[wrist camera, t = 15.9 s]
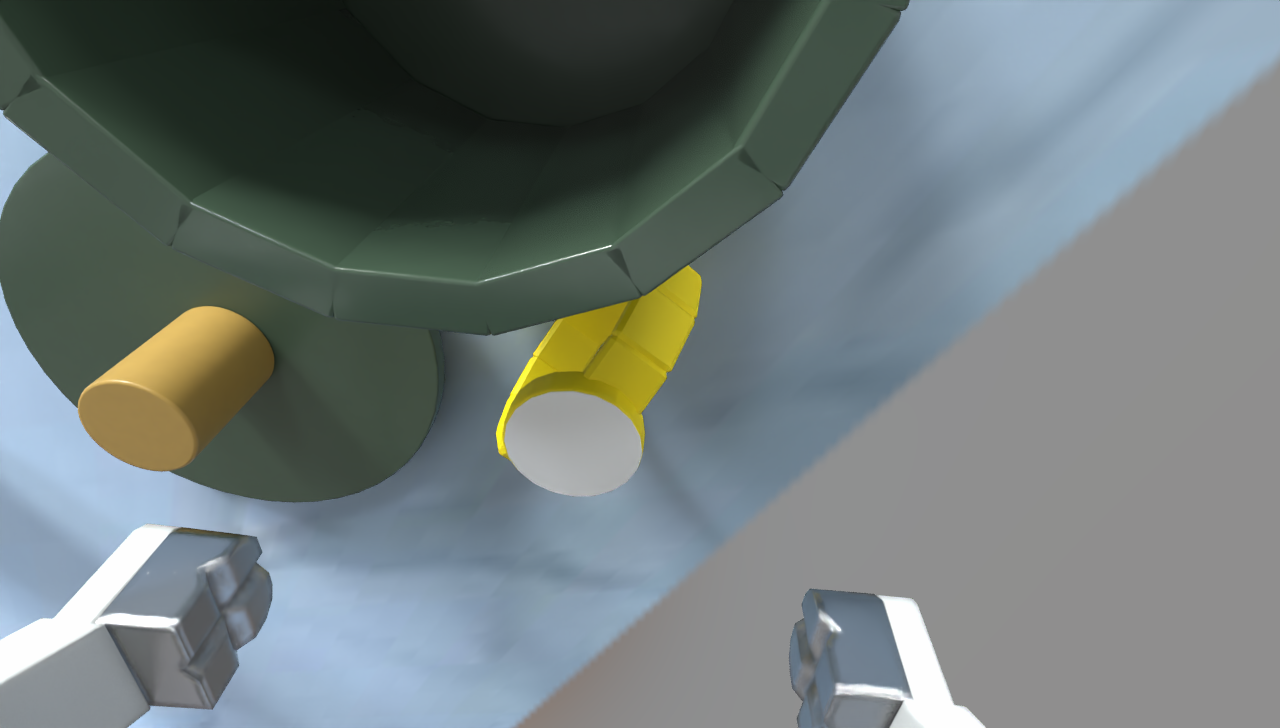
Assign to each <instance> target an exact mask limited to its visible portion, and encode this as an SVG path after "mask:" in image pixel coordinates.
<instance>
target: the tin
mask: <svg viewBox="0 0 1280 728" xmlns="http://www.w3.org/2000/svg"><path fill="white" fill-rule="evenodd" d="M909 1H910V0H0V110H4V111H3V115H4V116H5V118H7V119H8V120H9V121H10V122H12V123H13V124H14V125H15V126H17V127H18V128H19V129H20V130H22V131H23V132H24V133H25V134H27V135H28V136H29V137H30V138H32V139H33V140H34V141H35V142H37V143H38V144H39V145H40V146H42V147H43V148H44V149H45V150H47V151H48V152H49V153H50V154H52V155H53V156H54V157H55V158H57V159H58V160H59V161H60V162H62V163H63V164H64V165H65V166H67V167H68V168H69V169H70V170H72V171H73V172H74V173H75V174H77V175H78V176H79V177H80V178H82V179H83V180H84V181H85V182H87V183H88V184H89V185H90V186H92V187H93V188H94V189H95V190H97V191H98V192H99V193H100V194H102V195H103V196H104V197H105V198H107V199H108V200H109V201H110V202H112V203H113V204H114V205H115V206H117V207H118V208H119V209H120V210H122V211H123V212H124V213H125V214H127V215H128V216H129V217H130V218H132V219H133V220H134V221H135V222H137V223H138V224H139V225H140V226H142V227H143V228H144V229H145V230H147V231H148V232H149V233H150V234H152V235H153V236H154V237H155V238H157V239H158V240H159V241H160V242H162V243H163V244H164V245H166V246H172V248H173V249H174V250H175V251H178V252H180V253H182V254H184V255H187V256H189V257H191V258H194V259H196V260H198V261H200V262H203V263H205V264H207V265H210V266H212V267H214V268H216V269H219V270H221V271H223V272H226V273H228V274H230V275H232V276H235V277H237V278H239V279H242V280H244V281H246V282H249V283H251V284H253V285H255V286H258V287H260V288H262V289H265V290H267V291H269V292H271V293H274V294H276V295H278V296H281V297H283V298H285V299H287V300H290V301H292V302H294V303H297V304H299V305H301V306H303V307H306V308H308V309H310V310H313V311H315V312H317V313H320V314H322V315H324V316H326V317H330V318H332V317H334V318H335V319H336V320H341V321H350V322H360V323H370V324H379V325H389V326H399V327H408V328H418V329H428V330H437V331H447V332H457V333H466V334H476V335H486V336H487V335H490V334H492V335H499V334H503V333H506V332H510V331H514V330H518V329H522V328H526V327H530V326H534V325H538V324H541V323H545V322H549V321H553V320H557V319H561V318H565V317H569V316H573V315H577V314H580V313H584V312H588V311H592V310H596V309H600V308H604V307H608V306H612V305H616V304H619V303H623V302H627V301H631V300H635V299H639V298H640V297H642V296H646V295H648V294H649V293H650V292H652V291H653V290H654V289H656V288H657V287H659V286H660V285H661V284H663V283H664V282H666V281H667V280H668V279H670V278H671V277H672V276H674V275H675V274H677V273H678V272H679V271H681V270H682V269H683V268H685V267H686V266H688V265H689V264H690V263H692V262H693V261H695V260H696V259H697V258H699V257H700V256H701V255H703V254H704V253H706V252H707V251H708V250H710V249H711V248H712V247H714V246H715V245H717V244H718V243H719V242H721V241H722V240H724V239H725V238H726V237H728V236H729V235H730V234H732V233H733V232H735V231H736V230H737V229H739V228H740V227H741V226H743V225H744V224H746V223H747V222H748V221H750V220H751V219H753V218H754V217H755V216H757V215H758V214H759V213H761V212H762V211H764V210H765V209H766V208H768V207H769V206H771V205H772V204H773V203H775V202H776V201H777V200H779V199H780V198H781V197H782V196H783V192H782V190H785V189H787V188H788V187H789V186H790V185H791V183H792V182H793V180H794V179H795V177H796V176H797V174H798V173H799V171H800V170H801V168H802V167H803V165H804V163H805V162H806V160H807V159H808V157H809V156H810V154H811V153H812V151H813V150H814V148H815V147H816V145H817V144H818V142H819V141H820V139H821V138H822V136H823V135H824V133H825V132H826V130H827V129H828V127H829V126H830V124H831V123H832V121H833V120H834V118H835V117H836V115H837V114H838V112H839V111H840V109H841V108H842V106H843V105H844V103H845V102H846V100H847V99H848V97H849V96H850V94H851V93H852V91H853V90H854V88H855V87H856V85H857V84H858V82H859V81H860V79H861V78H862V76H863V74H864V73H865V71H866V70H867V68H868V67H869V65H870V64H871V62H872V61H873V59H874V58H875V56H876V55H877V53H878V52H879V50H880V49H881V47H882V46H883V44H884V43H885V41H886V40H887V38H888V37H889V35H890V34H891V32H892V31H893V29H894V28H895V26H896V25H897V23H898V22H899V19H900V15H901V11H903V10H906V8H907V7H908V5H909Z"/></svg>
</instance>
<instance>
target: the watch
mask: <svg viewBox="0 0 1280 728" xmlns="http://www.w3.org/2000/svg"><path fill="white" fill-rule="evenodd" d="M701 287H702V280H701V276H700V275H699V274H698V273H697V272H696V271H694V270H693V269H692V268H691V267H690V266H689V265H688V266H686V267H685V268H683V269H682V270H681V271H679V272H678V273H677V274H675V275H674V276H672V277H671V278H670V279H668V280H667V281H666V282H664V283H663V284H661V285H660V286H659V287H657V288H656V289H654V290H653V291H652V292H650V293H649V294H648V295H646V296H642V297H640V298H639V299H635V300H631V301H627V302H623V303H619V304H616V305H612V306H608V307H604V308H600V309H596V310H592V311H588V312H584V313H580V314H577V315H573V316H569V317H565V318H561V319H557V320H556V321H555V323H554V324H553V326H552V327H551V328H550V330H549V331H548V333H547V334H546V336H545V337H544V339H543V340H542V342H541V343H540V344H539V346H538V347H537V349H536V350H535V352H534V353H533V357H532V358H531V359H530V360H529V361H528V363H527V365H526V367H525V369H524V370H523V372H522V374H521V376H520V378H519V379H518V381H517V383H516V385H515V387H514V388H513V390H512V392H511V394H510V398H509V399H508V400H507V403H506V405H505V408H504V411H503V413H502V416H501V419H500V421H499V424H498V427H497V432H496V436H497V444H498V451H499V454H500V455H502V456H503V457H505V458H507V459H508V460H510V461H511V462H512V463H513V464H514V466H515V467H516V469H517V470H518V471H519V472H520V473H521V474H523V475H524V476H525V477H526V478H528V479H529V480H530V481H531V482H533V483H534V484H536V485H538V486H540V487H542V488H545V489H547V490H549V491H551V492H554V493H559V494H564V495H568V496H595V495H599V494H603V493H607V492H611V491H613V490H615V489H616V488H618V487H620V486H621V485H623V484H625V483H626V482H627V481H628V480H629V479H630V478H631V477H632V475H633V474H634V473H635V472H636V471H637V469H638V467H639V464H640V461H641V457H642V454H643V448H644V439H645V429H644V421H643V416H642V414H641V413H642V412H643V410H644V409H645V408H646V406H647V405H648V403H649V402H650V401H651V399H652V398H653V397H654V395H655V394H656V393H657V391H658V390H659V388H660V387H661V386H662V384H663V383H664V382H665V380H666V379H667V375H666V373H667V372H670V371H672V369H673V367H674V365H675V363H676V361H677V358H678V356H679V354H680V352H681V350H682V348H683V346H684V344H685V342H686V340H687V338H688V336H689V334H690V332H691V330H692V328H693V326H694V324H695V321H694V319H695V318H696V317H697V313H698V307H699V300H700V294H701ZM611 335H612V336H611ZM603 343H604V344H603ZM602 344H603V345H602ZM601 345H602V347H601ZM600 347H601V348H600ZM599 348H600V349H599ZM598 350H599V351H598ZM597 351H598V352H597ZM595 354H596V355H595ZM593 357H594V358H593Z"/></svg>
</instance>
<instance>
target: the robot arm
mask: <svg viewBox="0 0 1280 728" xmlns="http://www.w3.org/2000/svg"><path fill="white" fill-rule="evenodd" d="M261 554H262V550H261V547H260V545H259V542H258V539H257V537H254V536H248V535H240V534H232V533H224V532H216V531H207V530H199V529H191V528H183V527H173V526H164V525H155V524H146V525H144V526H142V527H140V528H138V529H136V530H134V531H133V532H132V533H131V534H130V535H129V536H128V537H127V538H126V540H125V541H124V542H123V543H122V544H121V545H120V546H119V547H118V548H117V549H116V550H115V552H114V553H113V554H112V555H111V556H110V557H109V558H108V559H107V560H106V561H105V563H104V564H103V565H102V566H101V567H100V568H99V569H98V570H97V571H96V572H95V573H94V575H93V576H92V577H91V578H90V579H89V580H88V581H87V582H86V583H85V584H84V585H83V587H82V588H81V589H80V590H79V591H78V592H77V593H76V594H75V595H74V596H73V597H72V599H71V600H70V601H69V602H68V603H67V604H66V605H65V606H64V607H63V608H62V610H61V611H60V612H59V613H58V614H57V615H56V616H55V617H54V618H53V619H49V618H41V619H39V620H37V621H35V622H33V623H32V624H30V625H28V626H26V627H24V628H22V629H20V630H18V631H16V632H15V633H13V634H11V635H9V636H7V637H5V638H3V639H1V640H0V728H127V727H129V726H130V725H131V724H132V723H134V722H135V721H136V720H137V719H139V718H140V717H141V716H142V715H144V714H145V713H146V712H147V711H149V710H150V706H149V705H151V706H166V707H182V708H197V709H213V708H214V706H215V704H216V703H217V701H218V699H219V698H220V696H221V695H222V693H223V691H224V690H225V688H226V686H227V685H228V683H229V681H230V680H231V678H232V676H233V675H234V673H235V671H236V670H237V668H238V666H239V662H238V655H237V650H238V649H239V648H241V647H242V646H244V645H245V644H247V643H248V642H250V641H251V640H252V639H254V638H255V637H256V636H257V634H258V633H259V631H260V629H261V627H262V626H263V624H264V622H265V620H266V618H267V615H268V611H269V608H270V605H271V601H272V581H271V578H270V575H269V572H267V571H266V570H265V569H264V568H263V567H261V566H260V565H259V564H258V563H257V562H256V561H257V560H258V558H259V557H260V555H261ZM802 609H803V615H804V618H803V619H802V620H800V621H798V622H797V623H795V626H794V629H793V632H792V636H791V641H790V652H789V664H790V676H791V683H792V689H793V690H794V691H795V692H796V694H797V695H798V696H799V697H800V698H801V700H802V701H803V703H802V706H801V709H800V711H799V714H798V717H797V723H798V728H986V727H985V726H984V725H983V724H982V723H981V722H980V721H979V720H978V719H977V718H976V717H975V716H974V715H973V714H972V713H971V712H970V711H969V710H968V709H967V708H966V707H965V706H958V705H954V702H953V699H952V697H951V694H950V691H949V688H948V686H947V683H946V680H945V678H944V675H943V672H942V669H941V667H940V664H939V661H938V658H937V656H936V653H935V650H934V648H933V645H932V642H931V639H930V637H929V634H928V631H927V628H926V626H925V623H924V620H923V618H922V615H921V612H920V609H919V607H918V605H917V603H916V602H915V601H914V600H913V599H912V598H903V597H892V596H882V595H875V594H868V593H856V592H844V591H832V590H818V589H809V590H808V591H807V593H806V594H805V596H804V599H803V602H802Z"/></svg>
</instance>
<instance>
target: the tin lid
mask: <svg viewBox="0 0 1280 728" xmlns="http://www.w3.org/2000/svg"><path fill="white" fill-rule="evenodd" d="M0 283H1V286H2V290H3V294H4V298H5V302H6V304H7V306H8V309H9V311H10V314H11V316H12V319H13V321H14V324H15V326H16V328H17V329H18V331H19V333H20V335H21V337H22V339H23V340H24V342H25V344H26V346H27V348H28V349H29V351H30V352H31V354H32V355H33V357H34V358H35V359H36V361H37V362H38V364H39V365H40V367H41V368H42V369H43V371H44V372H45V373H46V375H47V376H48V377H49V378H50V379H51V380H52V382H53V383H54V384H55V385H56V386H57V388H58V389H59V390H60V391H61V392H62V393H63V394H64V395H65V396H66V397H67V398H68V399H69V400H70V401H71V402H72V403H73V404H74V405H75V406H76V407H77V408H78V414H79V418H80V420H81V423H82V425H83V426H84V428H85V430H86V431H87V433H88V434H89V435H90V436H91V438H92V439H93V440H94V441H95V442H96V443H97V444H98V445H99V446H100V447H102V448H103V449H104V450H105V451H107V452H108V453H110V454H111V455H113V456H114V457H116V458H118V459H119V460H121V461H123V462H125V463H128V464H130V465H133V466H136V467H139V468H142V469H146V470H152V471H170V472H172V473H174V474H176V475H179V476H181V477H183V478H186V479H188V480H191V481H193V482H196V483H198V484H201V485H204V486H207V487H210V488H213V489H216V490H219V491H222V492H226V493H231V494H235V495H239V496H243V497H247V498H254V499H261V500H268V501H279V502H315V501H323V500H330V499H336V498H341V497H344V496H348V495H351V494H355V493H358V492H361V491H363V490H365V489H368V488H370V487H373V486H375V485H377V484H379V483H380V482H382V481H383V480H385V479H387V478H388V477H390V476H392V475H393V474H395V473H396V472H397V471H398V470H399V469H400V468H402V467H403V466H404V465H405V464H406V463H407V462H408V461H409V460H410V459H411V458H412V457H413V455H414V454H415V453H416V452H417V450H418V449H419V448H420V447H421V445H422V443H423V441H424V439H425V438H426V436H427V434H428V432H429V430H430V429H431V427H432V425H433V423H434V421H435V418H436V415H437V412H438V409H439V406H440V404H441V400H442V394H443V387H444V354H443V347H442V341H441V335H440V332H439V331H437V330H428V329H418V328H408V327H399V326H389V325H379V324H370V323H360V322H350V321H341V320H336V319H335V318H334V317H332V318H330V317H326V316H324V315H322V314H320V313H317V312H315V311H313V310H310V309H308V308H306V307H303V306H301V305H299V304H297V303H294V302H292V301H290V300H287V299H285V298H283V297H281V296H278V295H276V294H274V293H271V292H269V291H267V290H265V289H262V288H260V287H258V286H255V285H253V284H251V283H249V282H246V281H244V280H242V279H239V278H237V277H235V276H232V275H230V274H228V273H226V272H223V271H221V270H219V269H216V268H214V267H212V266H210V265H207V264H205V263H203V262H200V261H198V260H196V259H194V258H191V257H189V256H187V255H184V254H182V253H180V252H178V251H175V250H174V249H173V248H172V246H166V245H164V244H163V243H162V242H160V241H159V240H158V239H157V238H155V237H154V236H153V235H152V234H150V233H149V232H148V231H147V230H145V229H144V228H143V227H142V226H140V225H139V224H138V223H137V222H135V221H134V220H133V219H132V218H130V217H129V216H128V215H127V214H125V213H124V212H123V211H122V210H120V209H119V208H118V207H117V206H115V205H114V204H113V203H112V202H110V201H109V200H108V199H107V198H105V197H104V196H103V195H102V194H100V193H99V192H98V191H97V190H95V189H94V188H93V187H92V186H90V185H89V184H88V183H87V182H85V181H84V180H83V179H82V178H80V177H79V176H78V175H77V174H75V173H74V172H73V171H72V170H70V169H69V168H68V167H67V166H65V165H64V164H63V163H62V162H60V161H59V160H58V159H57V158H55V157H54V156H53V155H52V154H50V153H49V152H48V153H46V154H45V155H44V156H43V157H41V158H40V159H39V160H37V161H36V162H35V163H34V164H32V165H31V166H30V167H29V168H28V169H27V171H26V172H25V173H24V174H23V175H22V177H21V178H20V179H19V180H18V181H17V183H16V184H15V185H14V187H13V189H12V191H11V193H10V195H9V197H8V199H7V201H6V203H5V205H4V208H3V211H2V215H1V219H0Z"/></svg>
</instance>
